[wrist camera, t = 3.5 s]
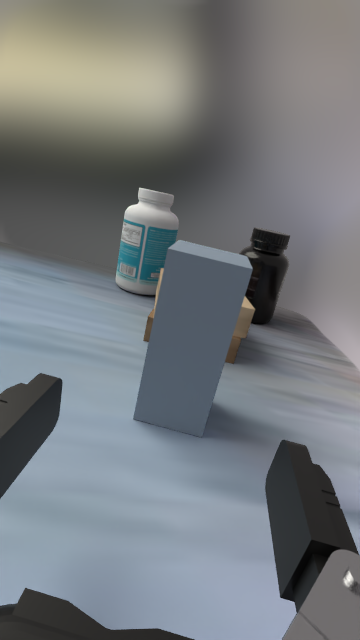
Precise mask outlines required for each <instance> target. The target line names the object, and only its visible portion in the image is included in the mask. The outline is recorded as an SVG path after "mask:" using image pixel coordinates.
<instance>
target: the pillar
mask: <svg viewBox="0 0 360 640" xmlns="http://www.w3.org/2000/svg"><path fill="white" fill-rule="evenodd" d="M252 270H253V268H252V266H251V264H250V262H249V259H248V257H247V256H244V255H240V254H235V253H231V252H227V251H223V250H219V249H215V248H211V247H207V246H202V245H198V244H194V243H190V242H186V241H182V240H179V241H177V242H176V243H174V244H173V245H172V246H170V247H169V248H168V250H167V255H166V260H165V265H164V270H163V275H162V280H161V285H160V290H159V295H158V300H157V304H156V309H155V314H154V319H153V324H152V329H151V334H150V339H149V344H148V349H147V354H146V359H145V364H144V368H143V373H142V378H141V383H140V388H139V393H138V398H137V403H136V408H135V413H134V418H133V419H135V420H139V421H142V422H146V423H150V424H153V425H157V426H161V427H164V428H168V429H172V430H176V431H179V432H183V433H187V434H190V435H194V436H198V437H201V438H202V435H203V432H204V429H205V425H206V422H207V419H208V415H209V412H210V409H211V405H212V402H213V399H214V396H215V392H216V389H217V386H218V382H219V379H220V376H221V373H222V369H223V366H224V363H225V359H226V356H227V353H228V349H229V346H230V343H231V340H232V336H233V333H234V330H235V326H236V323H237V320H238V316H239V313H240V310H241V307H242V303H243V300H244V297H245V293H246V290H247V287H248V283H249V280H250V277H251V274H252Z"/></svg>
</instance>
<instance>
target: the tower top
mask: <svg viewBox="0 0 360 640" xmlns="http://www.w3.org/2000/svg"><path fill="white" fill-rule="evenodd" d="M163 270H164V268H161V271H160V275H159V280H158V285H157V290H156V298H155V307H154V314H155V309H156V304H157V300H158V295H159V290H160V285H161V280H162V275H163ZM254 311H255V309H254V307H253V306H252V305H251V303H250V302H249V301H248V299H247V298H246V297H244V300H243V303H242V307H241V310H240V313H239V316H238V320H237V323H236V326H235V330H234V333H233V336H236V337H241V338H246V336H247V333H248V330H249V327H250V324H251V321H252V318H253V314H254ZM153 319H154V317H153Z"/></svg>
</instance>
